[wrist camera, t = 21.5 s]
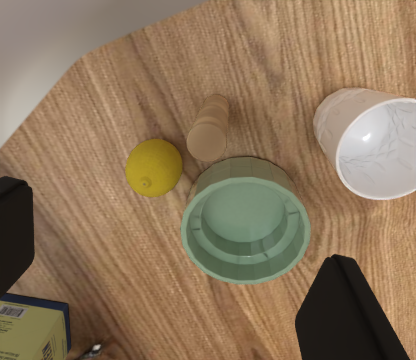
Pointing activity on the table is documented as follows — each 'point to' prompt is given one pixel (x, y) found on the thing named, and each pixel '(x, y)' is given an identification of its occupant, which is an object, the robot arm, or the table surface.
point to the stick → (209, 130)
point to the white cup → (369, 141)
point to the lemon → (153, 168)
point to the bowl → (245, 222)
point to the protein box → (33, 329)
